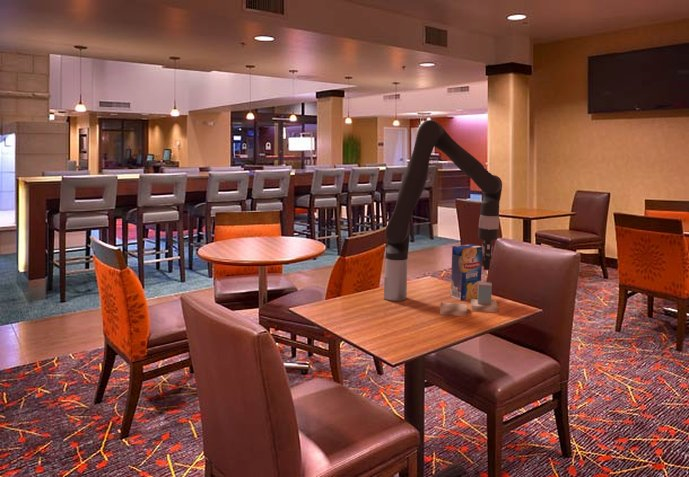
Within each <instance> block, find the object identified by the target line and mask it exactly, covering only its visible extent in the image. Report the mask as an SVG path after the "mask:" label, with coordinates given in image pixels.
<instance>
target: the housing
mask: <svg viewBox="0 0 689 477" xmlns="http://www.w3.org/2000/svg"><path fill="white" fill-rule="evenodd" d="M492 290H493V284H492V282H491V281H490V282H489V281H481V282H478V298H476V299H477V301H478V304H483V305H491V300H492V295H493V294H492V292H493V291H492Z"/></svg>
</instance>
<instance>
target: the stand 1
mask: <svg viewBox="0 0 689 477" xmlns="http://www.w3.org/2000/svg"><path fill="white" fill-rule="evenodd" d="M439 307H440V308H439V315H443V316H444V315H445V316H457V317H459V316H460V317H467V315H468V307H467V303H459V302H458V303H456V302H455V303H454V302H443V301H441V302H440V306H439Z"/></svg>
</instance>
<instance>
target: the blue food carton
mask: <svg viewBox="0 0 689 477" xmlns="http://www.w3.org/2000/svg"><path fill="white" fill-rule="evenodd" d="M451 246H452V245H451ZM451 248H452V249H451V251H452V252H451V270H450V271H451V273H450V274H451V275H450V289H449V290H450V292H449V293H450V295H449V296H450V298H453V299H456V300H458V301H466V300H471V299H478V282H482V270H483V269H482V268H483V266H482V265H483V264H482V263H483V255H482V253H483V252H482V245H478V244H471V243H470V244H469V243H468V244H460V245H453V246H452V247H451Z"/></svg>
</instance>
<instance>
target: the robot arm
mask: <svg viewBox="0 0 689 477" xmlns="http://www.w3.org/2000/svg"><path fill="white" fill-rule="evenodd" d="M434 148H436V149H438V150H439V151H441V153H443V154H444V155H445V156H447V157H448V158H449V159H450V161H451V162H452V163H453V165H455V166H456V167H457V168H458V169H459V170H460V171H462V173H463V174H464V175H465V176H467V177H468V178H469V179H471V180H472V181H473V183H474V184H475V185H476V186H477V187H478V189H480V190H481V191H482V192H483V194H482V195H483V196H482V201H481V204H480V214H479V220H478V234H477V237H478V239H479V240H482V241H483V242H482V243H481V246H482V252H483V253H482V265H483V266H482V268H483V269H482V270H484V271H489V270H490V265H491V263H490V262H491V260H492V255H493V248H494V244H493V243H492V241H497V240H498V238H499V227H500V201H501V198H502V191H503V190H502V189H503V182H502V179H501V177H499V176H497V175H495V174H492V173H491V172H490V171H488V169H486V168H485V166H484V165H483V164H482V162H480V161H479V160H478V159H477V158H476V157H475V156H474V155H472V154H470V152H468V151H467V150H466V149H464V148H463V147H462V146H461V145H459V143H457V142H456V141H455V140H454V139H453V138H452V137H451V136H450V134H449V133H448V132H447V131H446V130H445V128H444V127H443V125H442V124H441V123H440V122H437V121H435V120H433V119H427V120H425V121H423V122H422V123H421V124H420V125H419V126H418V129H417V134H416V137H415V141H414V147H413V151H412V154H411V156H410V158H409V161H408V163H407V166H406V169H405V171H404V174H403V177H402V180H401V183H400V186H399V190H398V194H397V197H396V198H397V199H396V203H395V207H394V210H393V212H392V213H391V215H390V216H391V217H390V219H389V221H388V223H387V224H386V227H385V230H384V232H385V233H384V235H385V238H386V248H385V265H384V266H385V267H384V276H383V278H384V279H383V280H384V281H383V300H388V301H394V302H401V301H404V300H407V295H408V294H407V293H408V292H407V288H408V257H409V250H410V249H409V248H410V244H409V243H410V227H409V226H410V221H411V218H412V214H413V213H414V210H415V209H416V208H417V207H416V206H417V205H418V203H419V200H420V199H421V197H422V194H423V191H424V188H425V186H426V183H427V179H428V174H429V166H430V158H431V156H432V153H433V150H434Z"/></svg>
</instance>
